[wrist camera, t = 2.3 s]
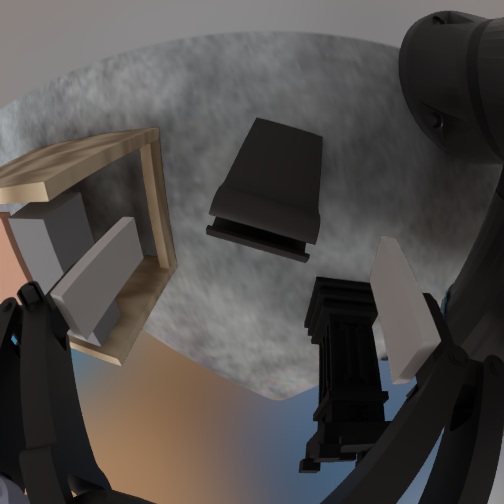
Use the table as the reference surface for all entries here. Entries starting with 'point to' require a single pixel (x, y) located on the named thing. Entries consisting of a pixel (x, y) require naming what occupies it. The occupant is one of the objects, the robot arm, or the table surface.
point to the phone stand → (271, 192)
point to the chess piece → (344, 373)
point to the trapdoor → (48, 250)
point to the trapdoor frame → (74, 170)
